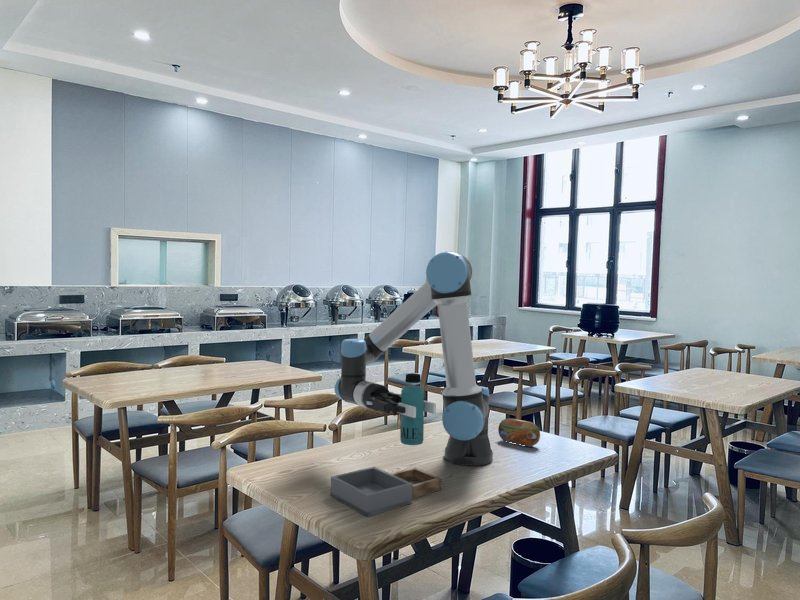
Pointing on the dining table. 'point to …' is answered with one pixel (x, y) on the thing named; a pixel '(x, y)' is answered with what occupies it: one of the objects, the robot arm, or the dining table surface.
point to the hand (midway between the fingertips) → (424, 410)
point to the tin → (519, 432)
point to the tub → (371, 490)
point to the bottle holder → (427, 481)
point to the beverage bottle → (415, 426)
